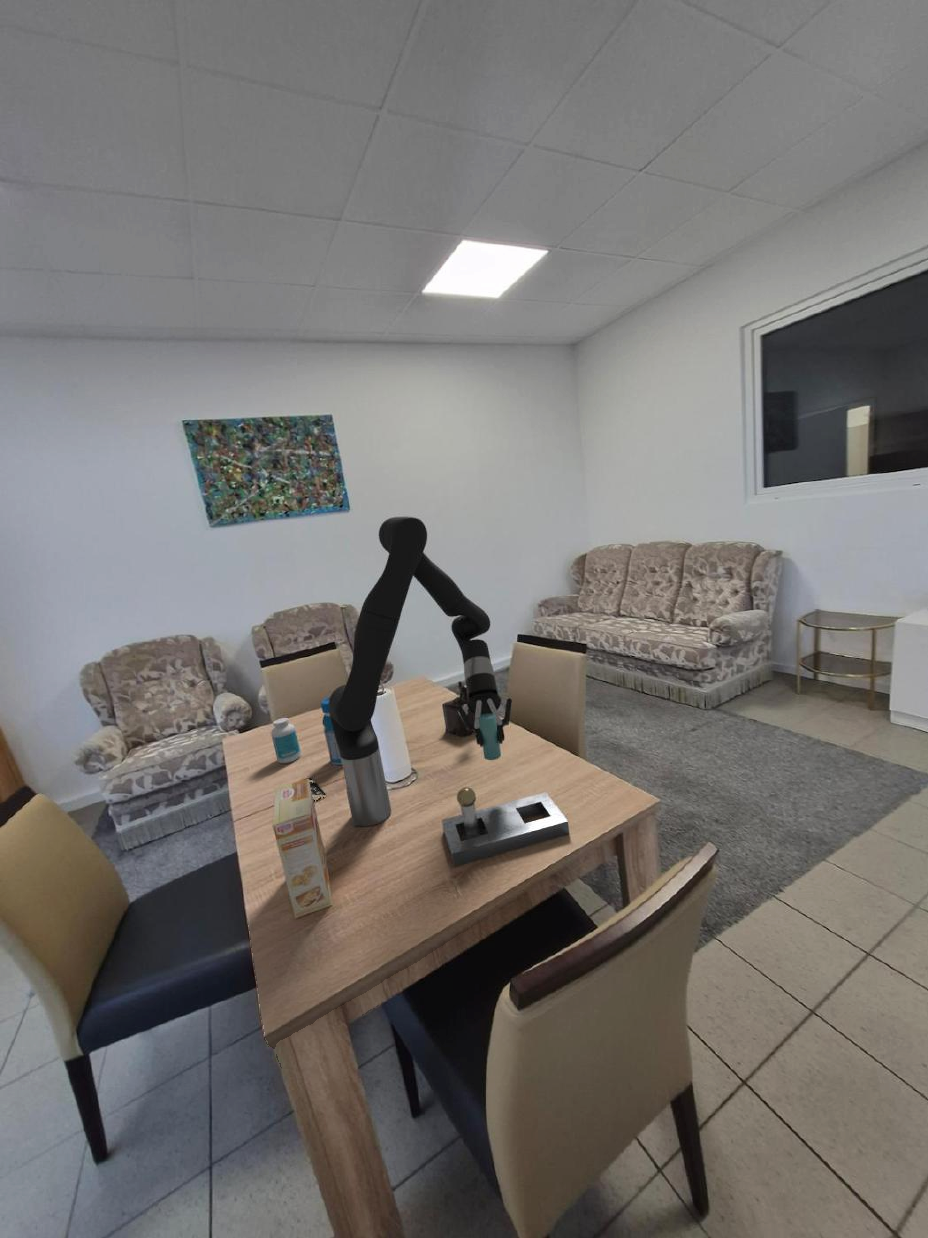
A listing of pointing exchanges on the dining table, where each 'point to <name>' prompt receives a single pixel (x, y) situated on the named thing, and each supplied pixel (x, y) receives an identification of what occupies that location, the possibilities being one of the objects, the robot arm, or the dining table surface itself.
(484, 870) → the dining table surface
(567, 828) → the hole plate
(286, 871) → the coffeecake box
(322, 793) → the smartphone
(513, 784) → the dining table surface
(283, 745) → the pill bottle
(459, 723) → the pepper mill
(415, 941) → the dining table surface
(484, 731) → the teal peg
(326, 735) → the beverage bottle
